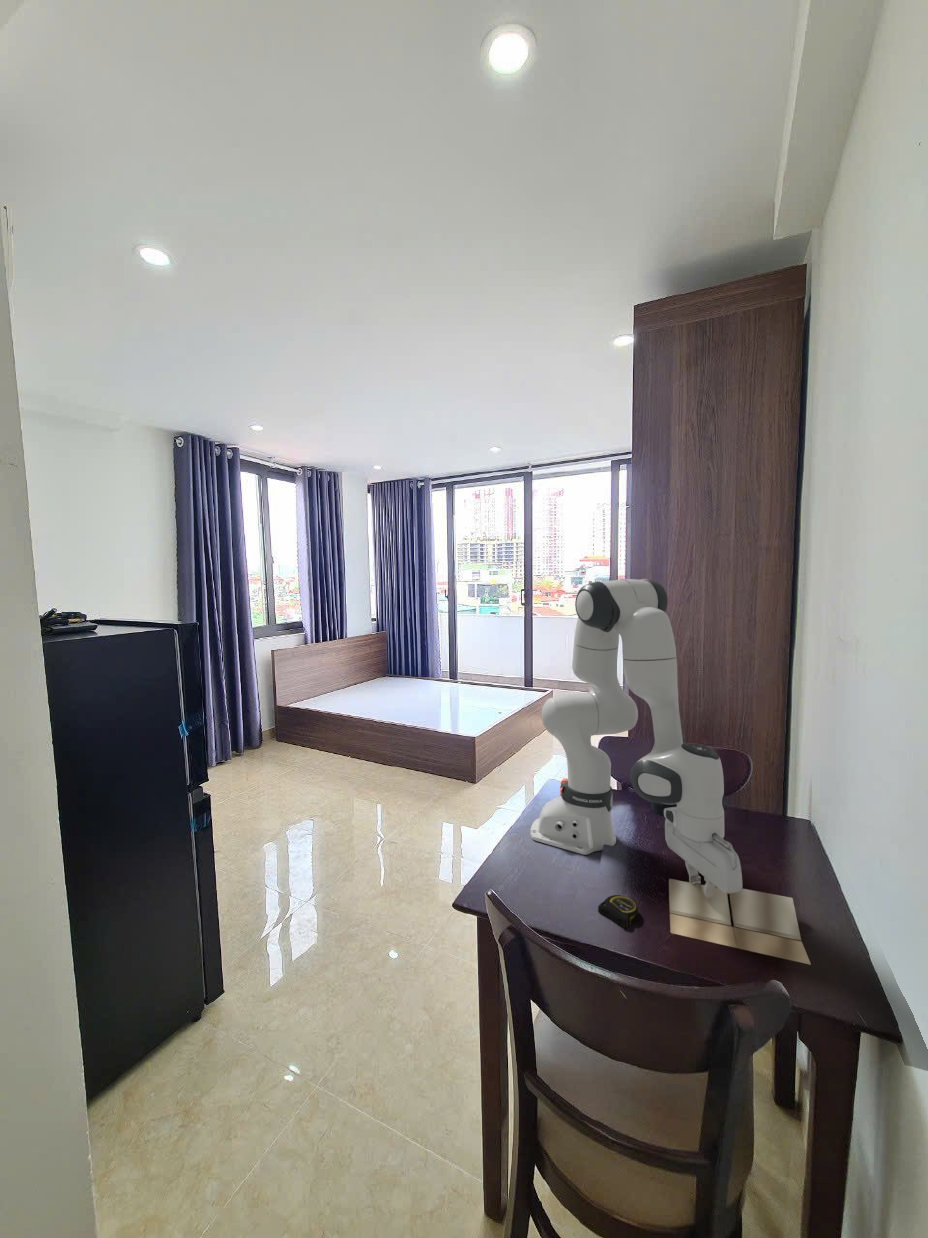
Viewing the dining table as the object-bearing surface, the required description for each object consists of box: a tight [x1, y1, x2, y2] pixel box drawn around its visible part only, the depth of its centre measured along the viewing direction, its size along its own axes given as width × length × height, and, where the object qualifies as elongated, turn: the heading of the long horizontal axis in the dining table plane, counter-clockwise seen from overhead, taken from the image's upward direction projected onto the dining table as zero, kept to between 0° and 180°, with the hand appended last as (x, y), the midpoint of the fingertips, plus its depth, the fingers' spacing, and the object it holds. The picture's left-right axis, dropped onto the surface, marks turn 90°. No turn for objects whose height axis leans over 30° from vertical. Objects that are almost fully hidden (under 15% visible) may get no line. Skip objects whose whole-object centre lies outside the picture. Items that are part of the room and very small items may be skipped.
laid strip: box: [669, 913, 812, 966], centre depth 93 cm, size 22×6×2 cm, turn 69°
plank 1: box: [668, 878, 732, 927], centre depth 102 cm, size 11×8×2 cm
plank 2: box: [729, 888, 802, 942], centre depth 97 cm, size 11×8×2 cm
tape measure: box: [597, 894, 641, 931], centre depth 100 cm, size 7×7×4 cm
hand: (701, 889), depth 103 cm, fingers open, 3 cm apart
